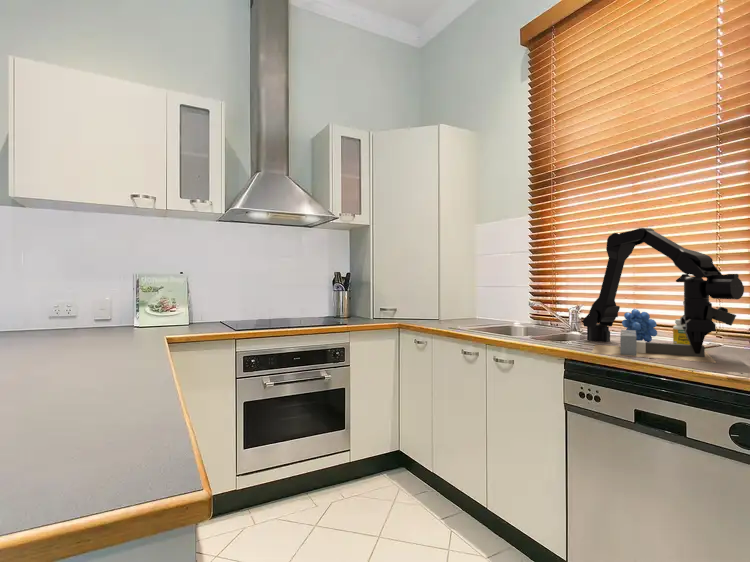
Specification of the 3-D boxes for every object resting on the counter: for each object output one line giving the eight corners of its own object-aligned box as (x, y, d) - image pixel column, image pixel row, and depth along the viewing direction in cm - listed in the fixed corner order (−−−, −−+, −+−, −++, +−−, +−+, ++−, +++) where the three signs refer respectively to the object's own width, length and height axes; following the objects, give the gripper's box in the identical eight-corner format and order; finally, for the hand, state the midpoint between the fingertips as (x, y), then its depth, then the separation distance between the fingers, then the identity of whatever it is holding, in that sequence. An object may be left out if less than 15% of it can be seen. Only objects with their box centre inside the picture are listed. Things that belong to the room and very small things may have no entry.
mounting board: (591, 357, 127) (591, 353, 127) (595, 348, 142) (595, 344, 142) (716, 367, 112) (716, 362, 112) (706, 356, 127) (706, 352, 127)
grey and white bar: (627, 352, 128) (627, 341, 128) (627, 350, 131) (627, 339, 131) (705, 357, 118) (705, 346, 118) (703, 355, 122) (703, 344, 122)
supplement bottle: (689, 347, 143) (689, 319, 143) (695, 350, 138) (695, 320, 138) (670, 346, 144) (670, 318, 144) (676, 349, 139) (676, 320, 139)
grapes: (617, 341, 157) (617, 309, 157) (624, 339, 162) (624, 308, 162) (652, 345, 148) (652, 310, 148) (659, 343, 153) (659, 309, 152)
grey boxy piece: (620, 354, 124) (620, 335, 124) (621, 346, 137) (621, 329, 137) (636, 355, 122) (636, 336, 122) (635, 347, 135) (635, 330, 135)
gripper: (740, 300, 109) (740, 360, 109) (726, 297, 125) (726, 350, 125) (686, 299, 114) (687, 357, 114) (679, 296, 130) (680, 347, 130)
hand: (696, 352), depth 121 cm, fingers closed on grey and white bar, 2 cm apart
